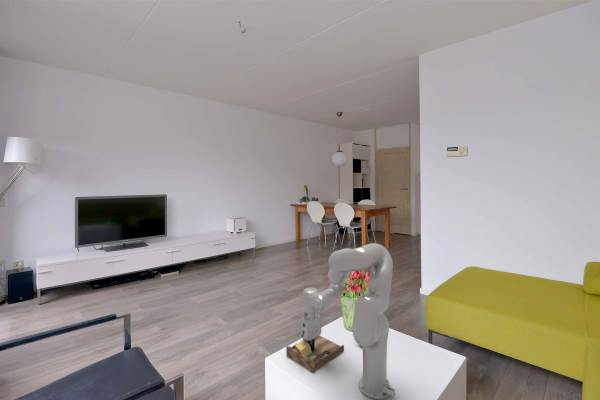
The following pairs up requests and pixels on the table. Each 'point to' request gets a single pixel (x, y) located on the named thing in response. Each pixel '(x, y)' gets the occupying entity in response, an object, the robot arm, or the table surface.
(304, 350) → the block
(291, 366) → the table surface
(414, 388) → the table surface
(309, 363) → the box
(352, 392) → the table surface
